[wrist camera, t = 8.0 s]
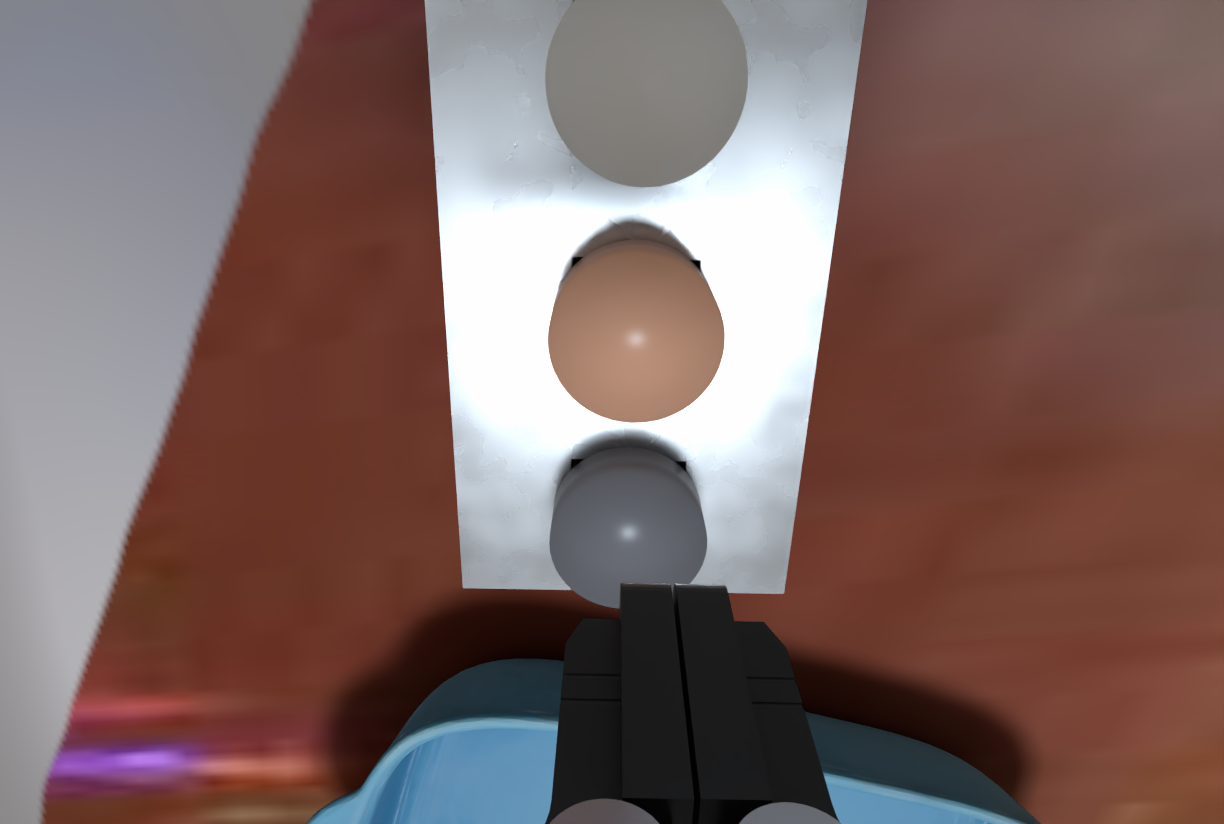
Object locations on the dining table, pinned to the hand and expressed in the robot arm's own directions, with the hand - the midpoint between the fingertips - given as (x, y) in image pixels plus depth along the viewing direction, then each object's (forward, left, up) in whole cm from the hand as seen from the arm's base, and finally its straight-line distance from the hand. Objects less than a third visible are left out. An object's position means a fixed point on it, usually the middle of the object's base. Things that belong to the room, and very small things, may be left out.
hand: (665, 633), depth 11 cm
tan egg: (0, 0, -19) cm, 19 cm away
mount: (0, 0, -20) cm, 20 cm away
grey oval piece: (0, -7, -19) cm, 20 cm away
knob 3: (0, +7, -19) cm, 20 cm away
